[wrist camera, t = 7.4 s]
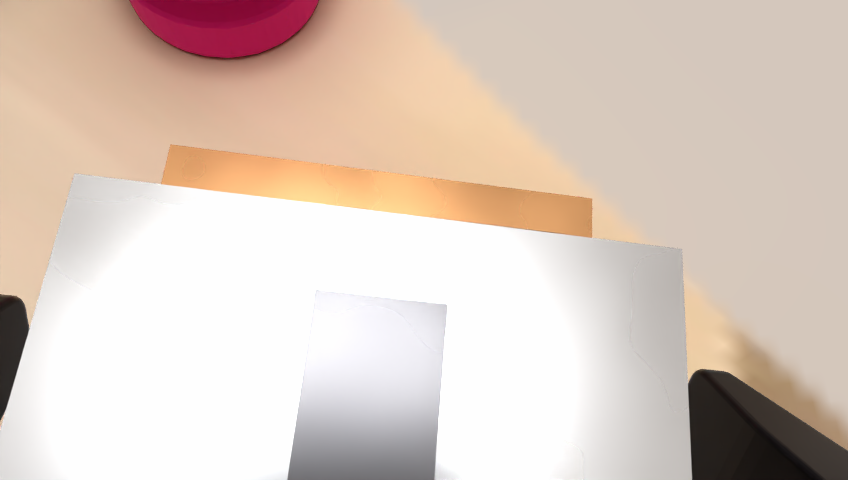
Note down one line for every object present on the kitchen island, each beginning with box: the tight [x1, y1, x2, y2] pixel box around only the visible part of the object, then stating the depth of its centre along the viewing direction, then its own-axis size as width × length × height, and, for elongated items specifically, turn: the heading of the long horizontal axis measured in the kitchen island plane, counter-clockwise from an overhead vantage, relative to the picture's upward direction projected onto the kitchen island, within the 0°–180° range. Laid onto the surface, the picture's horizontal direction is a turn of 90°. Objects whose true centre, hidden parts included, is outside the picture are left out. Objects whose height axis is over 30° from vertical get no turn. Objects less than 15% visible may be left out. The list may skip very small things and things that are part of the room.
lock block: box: [0, 174, 692, 480], centre depth 10 cm, size 5×6×11 cm
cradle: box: [161, 145, 592, 238], centre depth 15 cm, size 13×10×4 cm
